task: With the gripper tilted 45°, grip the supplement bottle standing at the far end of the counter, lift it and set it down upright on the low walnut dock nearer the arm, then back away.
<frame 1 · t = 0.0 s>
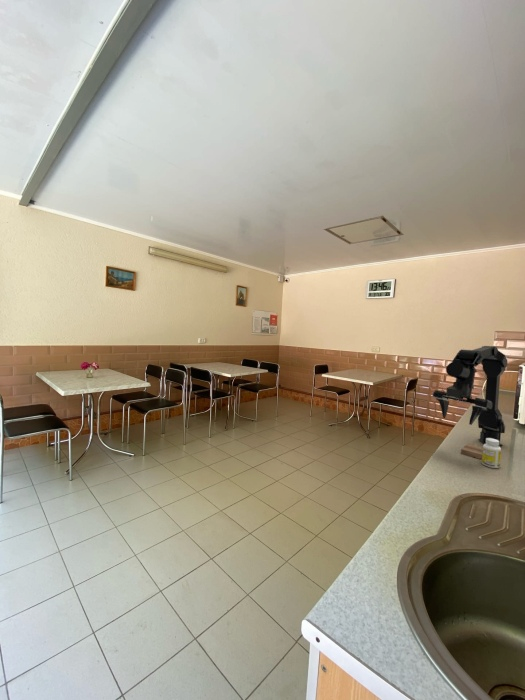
hand: (456, 421, 114), 15 cm above the worktop, tool pointing down, fingers open, 9 cm apart
supplement bottle: (490, 465, 112), on the worktop
dock: (475, 453, 122), on the worktop
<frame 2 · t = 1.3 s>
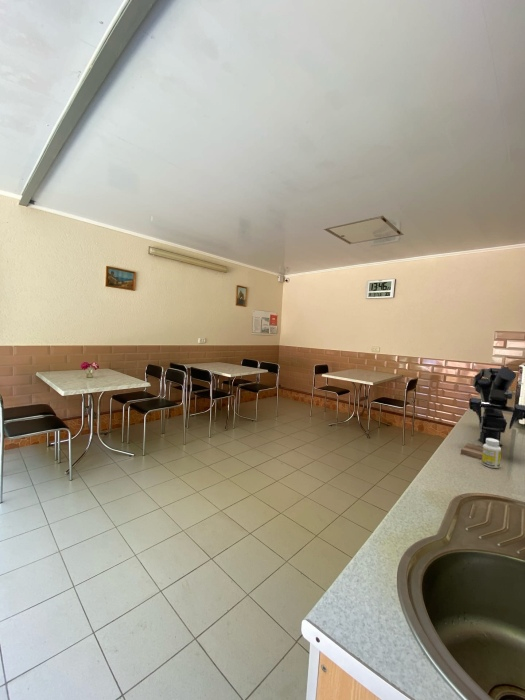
hand: (494, 425, 117), 13 cm above the worktop, tool tilted 45°, fingers open, 9 cm apart
nothing on the worktop moved.
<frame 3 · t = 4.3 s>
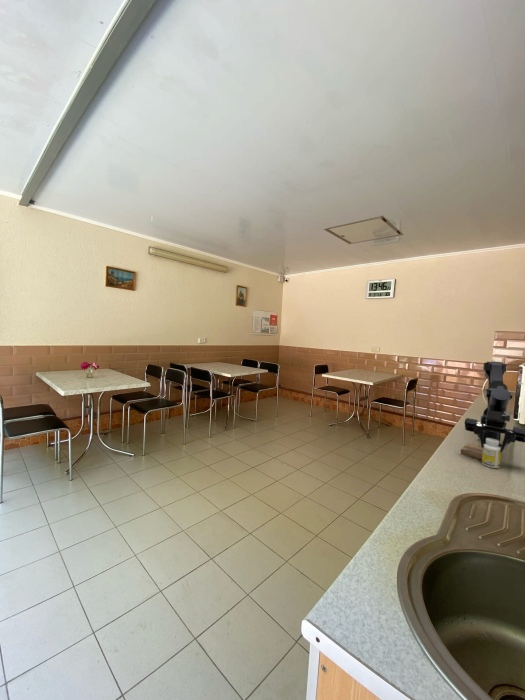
hand: (491, 449, 110), 7 cm above the worktop, tool tilted 45°, fingers closed on supplement bottle, 5 cm apart
supplement bottle: (490, 465, 112), on the worktop, touching gripper
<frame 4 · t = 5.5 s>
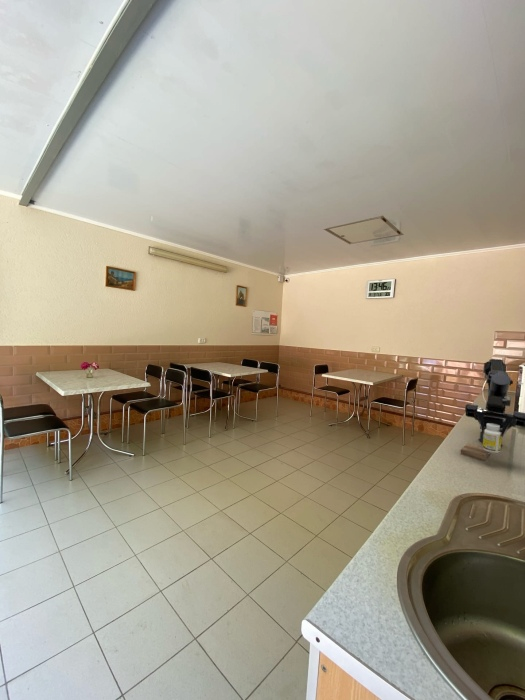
hand: (492, 433, 111), 12 cm above the worktop, tool tilted 45°, fingers closed on supplement bottle, 5 cm apart
supplement bottle: (491, 450, 112), point 5 cm above the worktop, touching gripper
when the fingers open (10 cm above the worktop, at t = 7.2 s): supplement bottle stays where it is, resting on dock.
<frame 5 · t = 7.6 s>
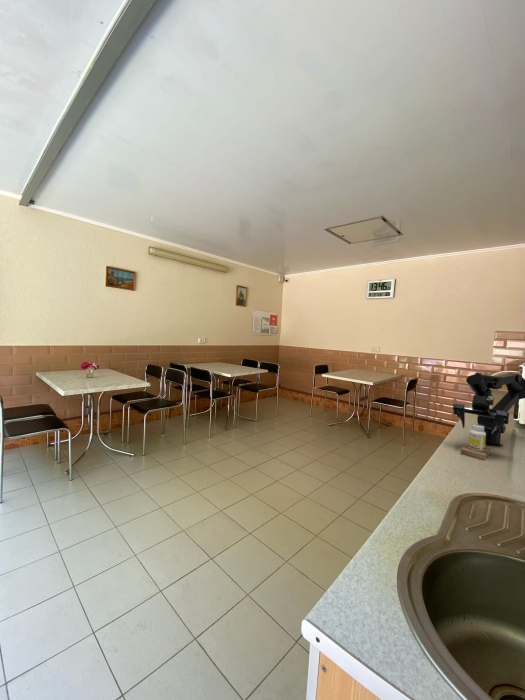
hand: (476, 430, 121), 10 cm above the worktop, tool tilted 45°, fingers open, 9 cm apart
supplement bottle: (476, 449, 122), point 2 cm above the worktop, touching dock
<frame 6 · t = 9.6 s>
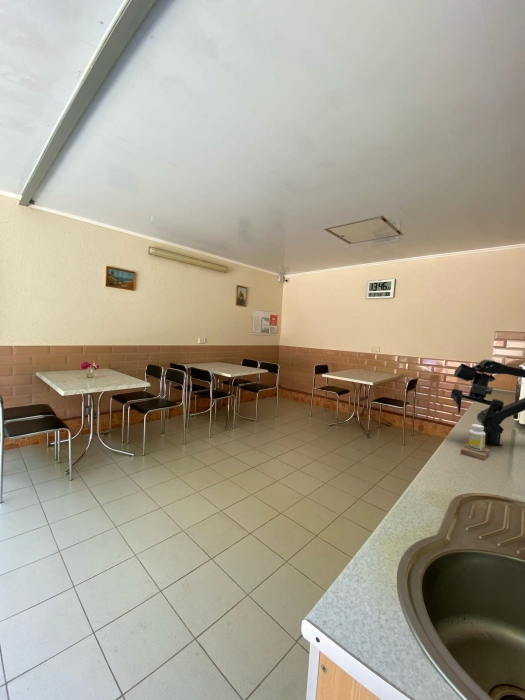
hand: (471, 417, 128), 13 cm above the worktop, tool tilted 35°, fingers open, 9 cm apart
nothing on the worktop moved.
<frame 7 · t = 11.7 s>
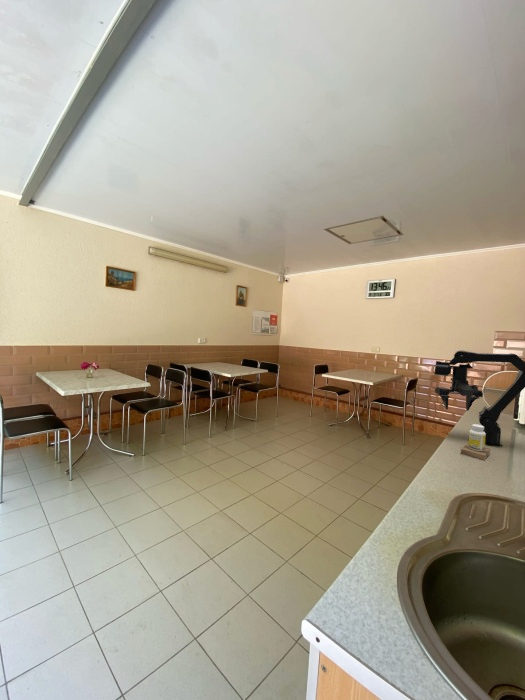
hand: (456, 409, 141), 13 cm above the worktop, tool pointing down, fingers open, 9 cm apart
nothing on the worktop moved.
at the end: supplement bottle 0.2 cm off-centre on the dock, point 1.8 cm above the dock's base; supplement bottle tilted 0°; the gripper is holding nothing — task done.
